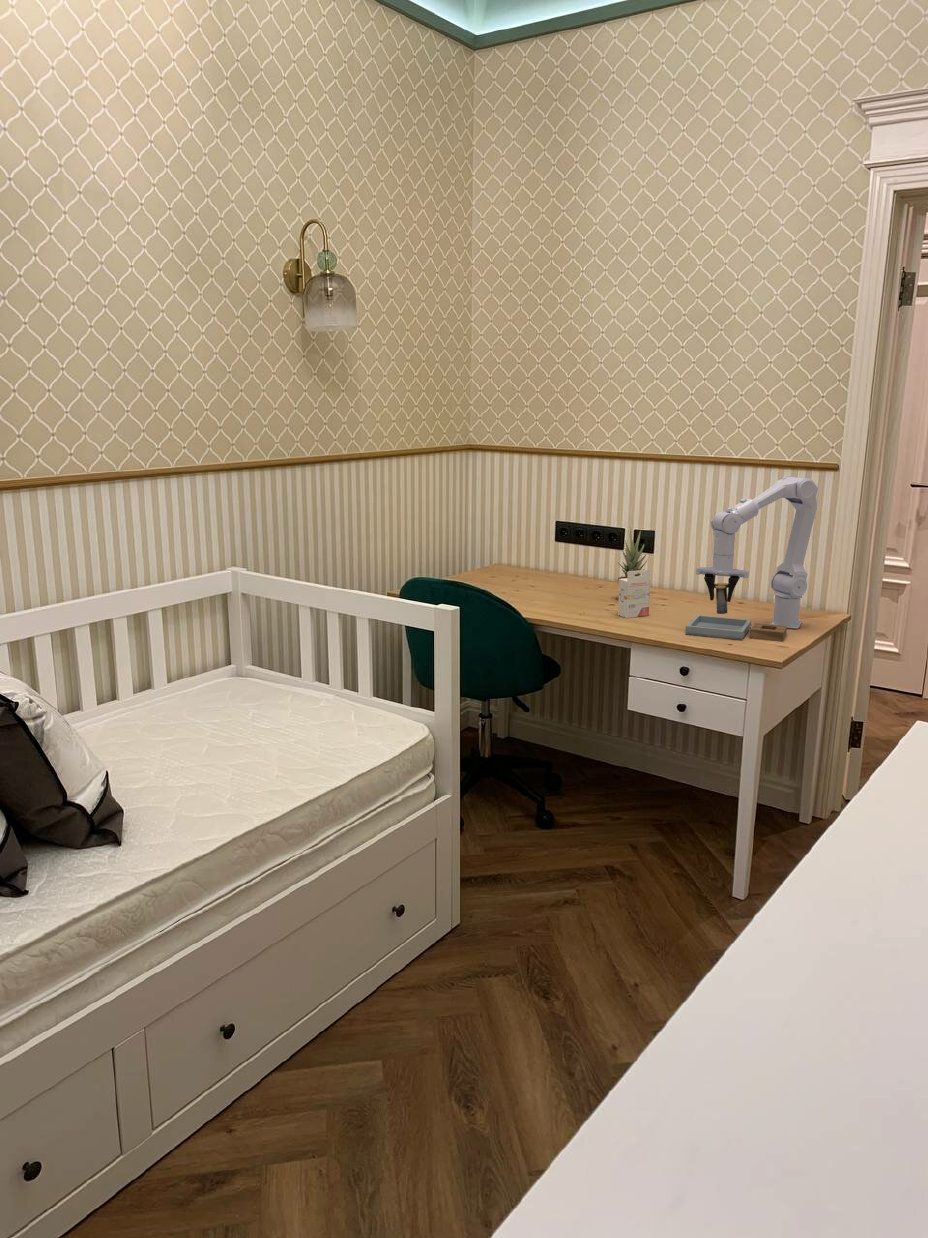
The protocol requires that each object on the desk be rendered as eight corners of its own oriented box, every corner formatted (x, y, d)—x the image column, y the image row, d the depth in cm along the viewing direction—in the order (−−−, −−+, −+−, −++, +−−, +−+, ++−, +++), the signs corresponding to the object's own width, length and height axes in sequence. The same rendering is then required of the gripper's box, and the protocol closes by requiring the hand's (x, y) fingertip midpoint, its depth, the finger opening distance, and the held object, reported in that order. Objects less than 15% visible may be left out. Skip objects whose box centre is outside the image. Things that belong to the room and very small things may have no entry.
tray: (696, 622, 294) (696, 614, 293) (750, 628, 287) (751, 619, 287) (685, 634, 279) (685, 626, 279) (742, 640, 273) (743, 631, 272)
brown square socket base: (754, 631, 283) (754, 622, 283) (786, 634, 280) (787, 625, 279) (749, 638, 275) (750, 629, 275) (782, 641, 272) (783, 632, 271)
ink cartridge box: (640, 612, 307) (642, 567, 304) (649, 616, 303) (651, 569, 299) (617, 615, 304) (618, 568, 301) (625, 618, 299) (627, 571, 296)
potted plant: (636, 596, 332) (639, 524, 327) (650, 601, 324) (653, 528, 318) (610, 597, 329) (613, 525, 324) (623, 603, 321) (626, 529, 315)
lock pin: (715, 611, 285) (714, 583, 283) (731, 611, 283) (730, 583, 281) (713, 614, 281) (712, 585, 279) (728, 614, 279) (727, 585, 277)
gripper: (695, 554, 277) (692, 600, 281) (747, 558, 272) (743, 605, 275) (699, 550, 284) (697, 596, 287) (751, 554, 278) (747, 600, 281)
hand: (720, 600), depth 281 cm, fingers closed on lock pin, 4 cm apart
